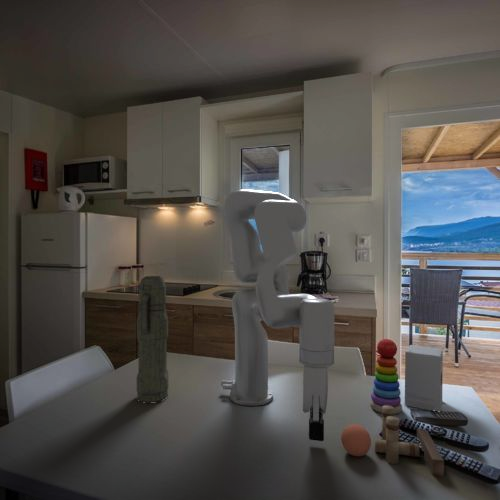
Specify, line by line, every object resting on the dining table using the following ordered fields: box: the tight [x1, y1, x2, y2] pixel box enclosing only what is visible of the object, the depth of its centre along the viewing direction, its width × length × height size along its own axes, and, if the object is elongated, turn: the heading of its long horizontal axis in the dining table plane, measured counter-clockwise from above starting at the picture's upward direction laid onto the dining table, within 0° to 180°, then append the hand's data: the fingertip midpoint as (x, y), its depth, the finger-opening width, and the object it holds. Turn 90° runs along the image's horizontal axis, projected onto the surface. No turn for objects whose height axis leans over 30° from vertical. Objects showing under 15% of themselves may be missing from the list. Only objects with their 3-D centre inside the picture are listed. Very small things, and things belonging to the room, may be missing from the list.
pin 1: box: [381, 405, 395, 440], centre depth 79 cm, size 2×2×8 cm
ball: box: [340, 423, 372, 457], centre depth 76 cm, size 6×6×6 cm
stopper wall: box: [416, 428, 445, 477], centre depth 75 cm, size 2×12×3 cm, turn 168°
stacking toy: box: [369, 338, 403, 415], centre depth 97 cm, size 8×8×19 cm
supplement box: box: [404, 344, 444, 412], centre depth 101 cm, size 9×9×15 cm
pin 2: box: [385, 416, 400, 465], centre depth 74 cm, size 2×2×8 cm
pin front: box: [374, 438, 420, 458], centre depth 76 cm, size 2×2×8 cm
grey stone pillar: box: [136, 275, 169, 403], centre depth 105 cm, size 9×12×35 cm
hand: (316, 438), depth 80 cm, fingers closed
